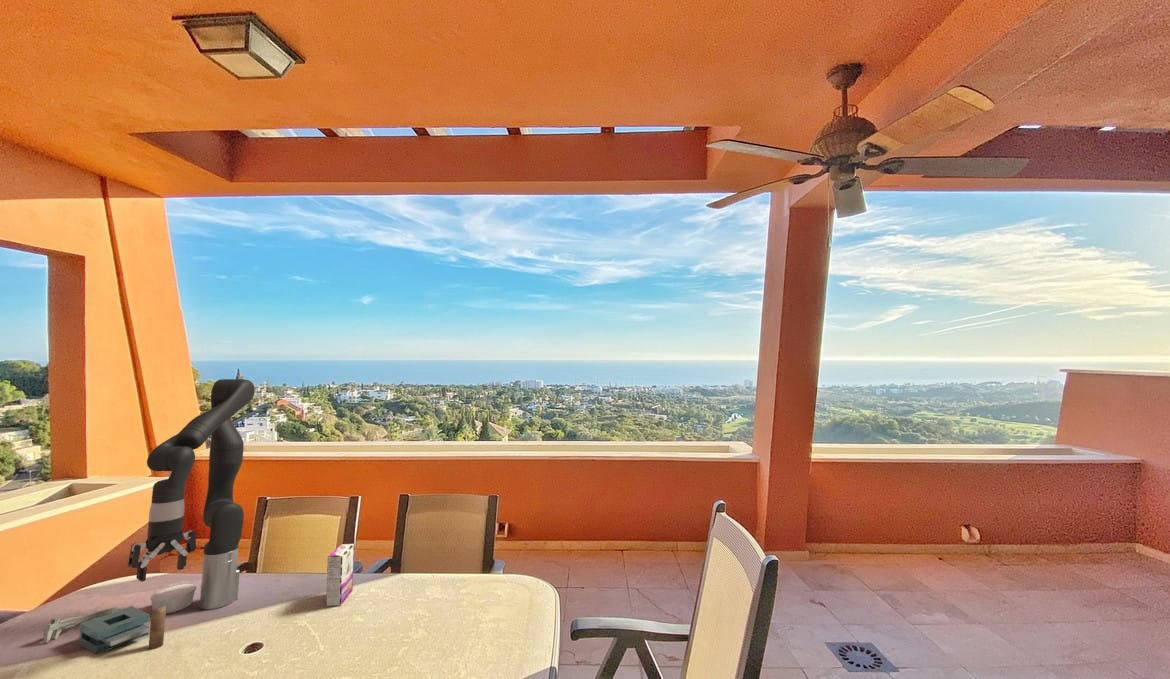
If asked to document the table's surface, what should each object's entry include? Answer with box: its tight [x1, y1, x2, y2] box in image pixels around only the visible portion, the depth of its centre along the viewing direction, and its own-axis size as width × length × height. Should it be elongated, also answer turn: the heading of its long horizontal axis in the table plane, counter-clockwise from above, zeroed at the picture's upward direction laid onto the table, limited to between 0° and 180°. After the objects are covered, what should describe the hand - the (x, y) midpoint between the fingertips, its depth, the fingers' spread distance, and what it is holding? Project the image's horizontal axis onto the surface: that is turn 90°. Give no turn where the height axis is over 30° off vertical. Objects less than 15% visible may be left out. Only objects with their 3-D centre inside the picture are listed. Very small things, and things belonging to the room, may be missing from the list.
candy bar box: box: [325, 543, 355, 608], centre depth 155 cm, size 11×5×16 cm, turn 8°
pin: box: [148, 607, 167, 650], centre depth 127 cm, size 3×3×10 cm
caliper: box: [43, 605, 123, 644], centre depth 138 cm, size 20×1×6 cm, turn 178°
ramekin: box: [150, 583, 197, 615], centre depth 149 cm, size 11×11×5 cm
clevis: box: [78, 605, 151, 655], centre depth 130 cm, size 11×16×6 cm
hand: (161, 574), depth 129 cm, fingers open, 8 cm apart
